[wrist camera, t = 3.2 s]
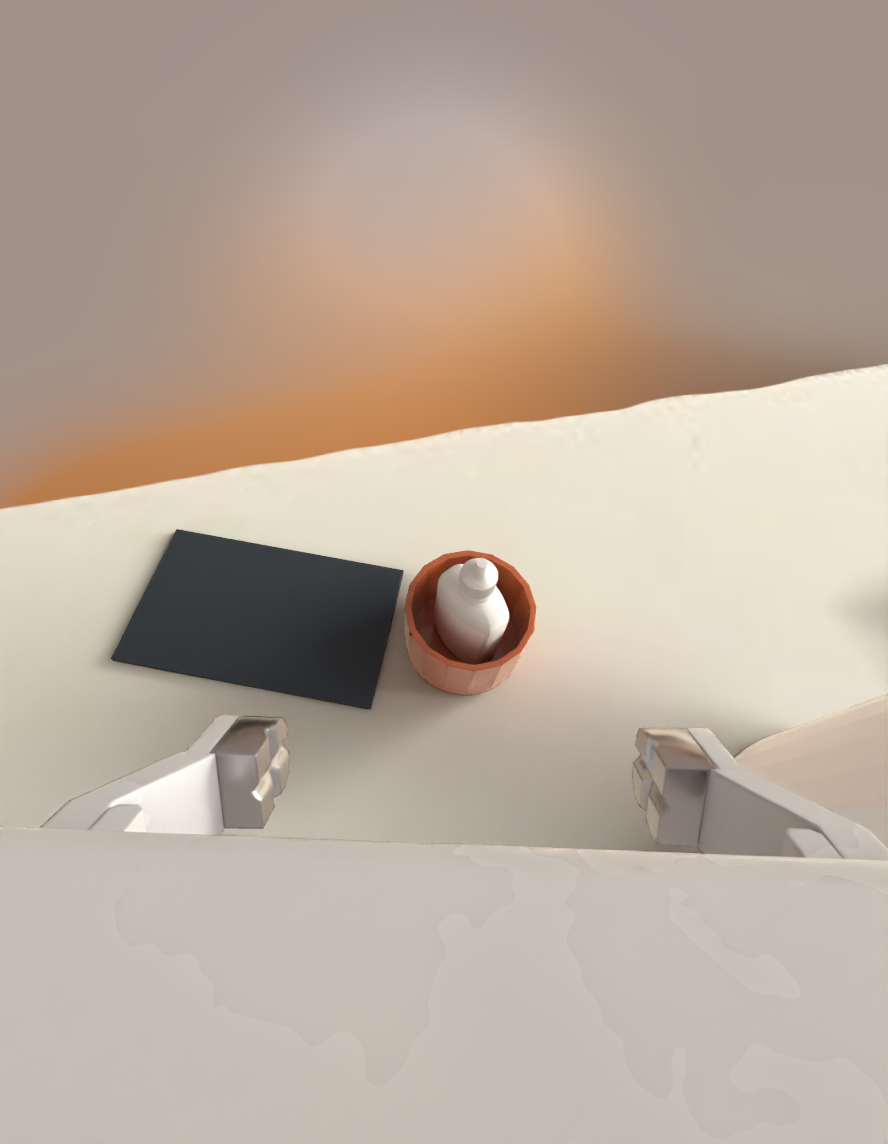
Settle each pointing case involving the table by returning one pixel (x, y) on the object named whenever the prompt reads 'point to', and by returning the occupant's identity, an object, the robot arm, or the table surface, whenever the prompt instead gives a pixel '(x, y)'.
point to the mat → (264, 618)
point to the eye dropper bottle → (470, 611)
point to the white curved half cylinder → (833, 763)
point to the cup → (433, 653)
